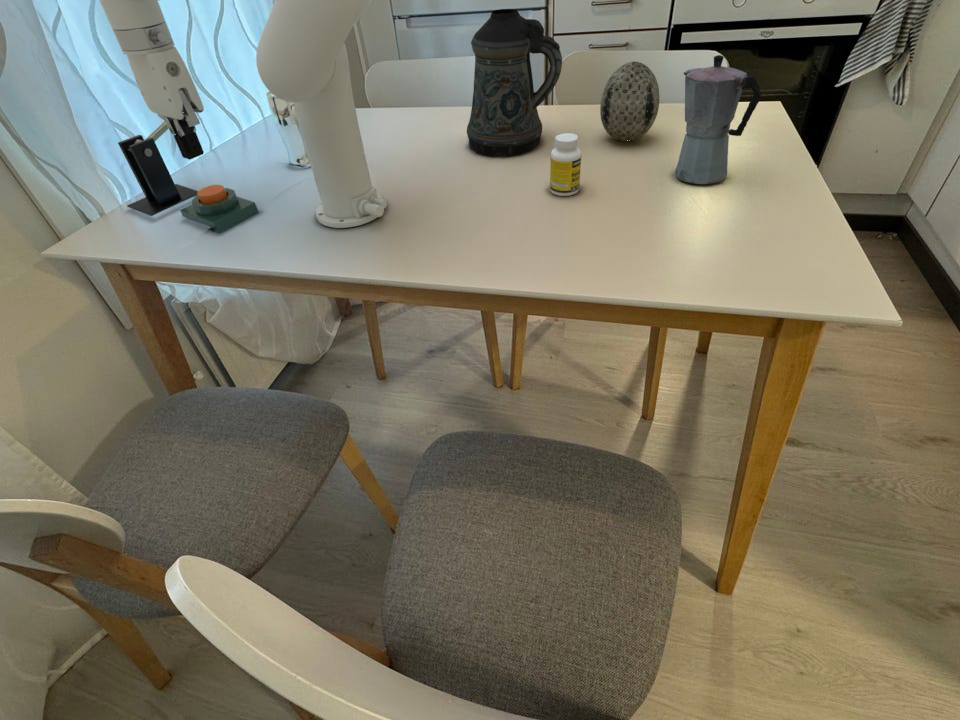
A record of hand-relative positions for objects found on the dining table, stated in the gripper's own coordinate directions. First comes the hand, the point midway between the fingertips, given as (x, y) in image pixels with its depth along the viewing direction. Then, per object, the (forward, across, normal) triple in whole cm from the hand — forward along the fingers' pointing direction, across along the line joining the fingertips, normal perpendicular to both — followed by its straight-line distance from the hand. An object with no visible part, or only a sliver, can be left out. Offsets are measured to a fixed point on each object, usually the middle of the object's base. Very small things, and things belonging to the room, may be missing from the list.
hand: (193, 155), depth 97 cm
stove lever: (0, +16, -3) cm, 16 cm away
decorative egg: (+11, -54, -65) cm, 85 cm away
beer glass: (+12, +4, -25) cm, 28 cm away
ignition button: (+8, 0, 0) cm, 8 cm away
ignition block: (+12, 0, 0) cm, 12 cm away
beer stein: (+11, -32, -54) cm, 64 cm away
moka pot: (+11, -74, -54) cm, 92 cm away
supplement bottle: (+11, -54, -38) cm, 67 cm away
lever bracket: (+12, +16, +2) cm, 20 cm away
